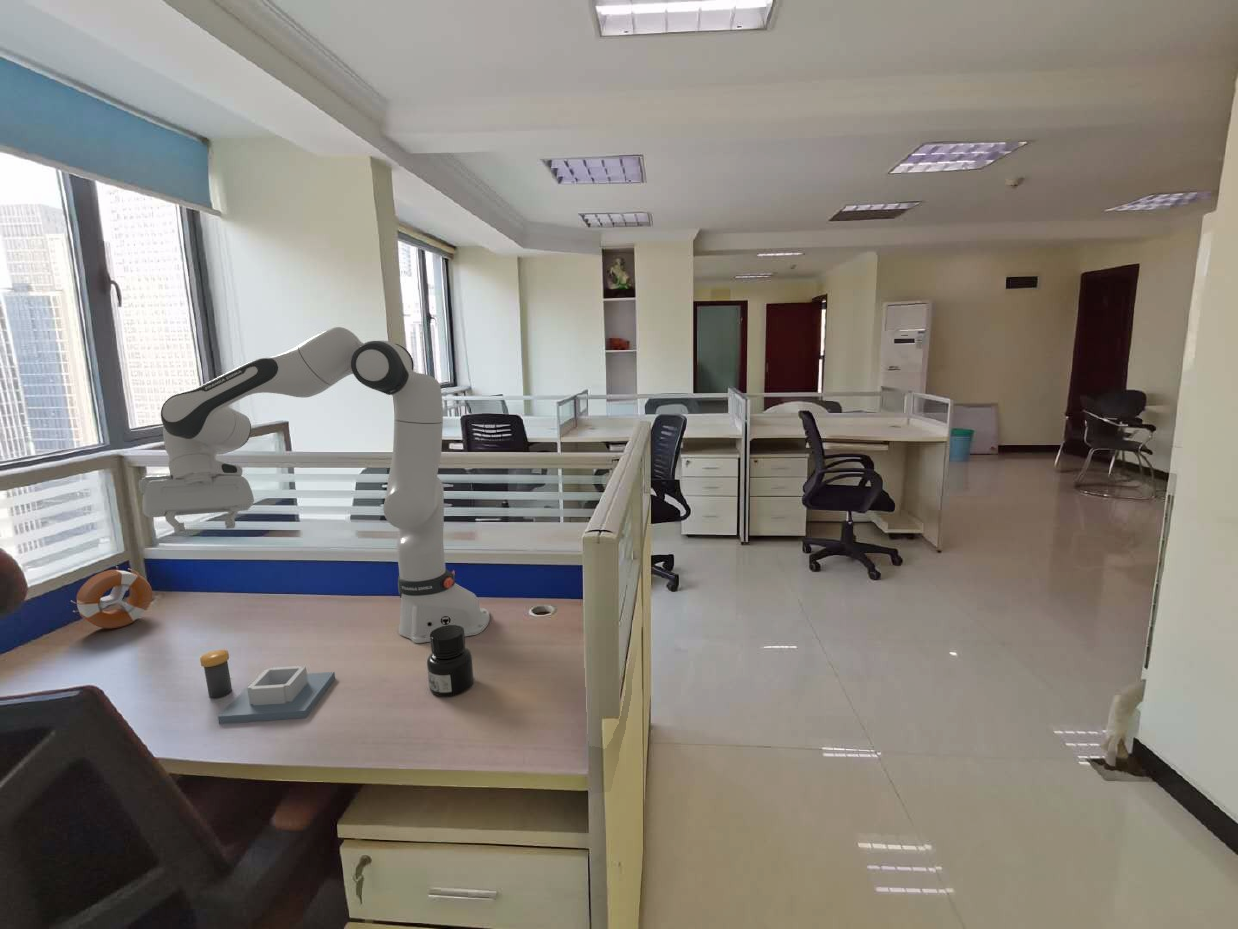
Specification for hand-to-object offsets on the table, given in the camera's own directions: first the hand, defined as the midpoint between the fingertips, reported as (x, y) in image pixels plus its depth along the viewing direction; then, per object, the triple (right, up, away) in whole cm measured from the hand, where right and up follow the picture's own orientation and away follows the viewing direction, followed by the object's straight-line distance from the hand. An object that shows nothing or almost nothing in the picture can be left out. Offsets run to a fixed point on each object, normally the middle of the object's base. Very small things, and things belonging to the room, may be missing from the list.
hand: (206, 529), depth 128 cm
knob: (+8, -33, -6) cm, 35 cm away
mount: (+22, -33, -10) cm, 41 cm away
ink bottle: (+56, -32, -6) cm, 65 cm away
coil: (-43, -29, +28) cm, 59 cm away
